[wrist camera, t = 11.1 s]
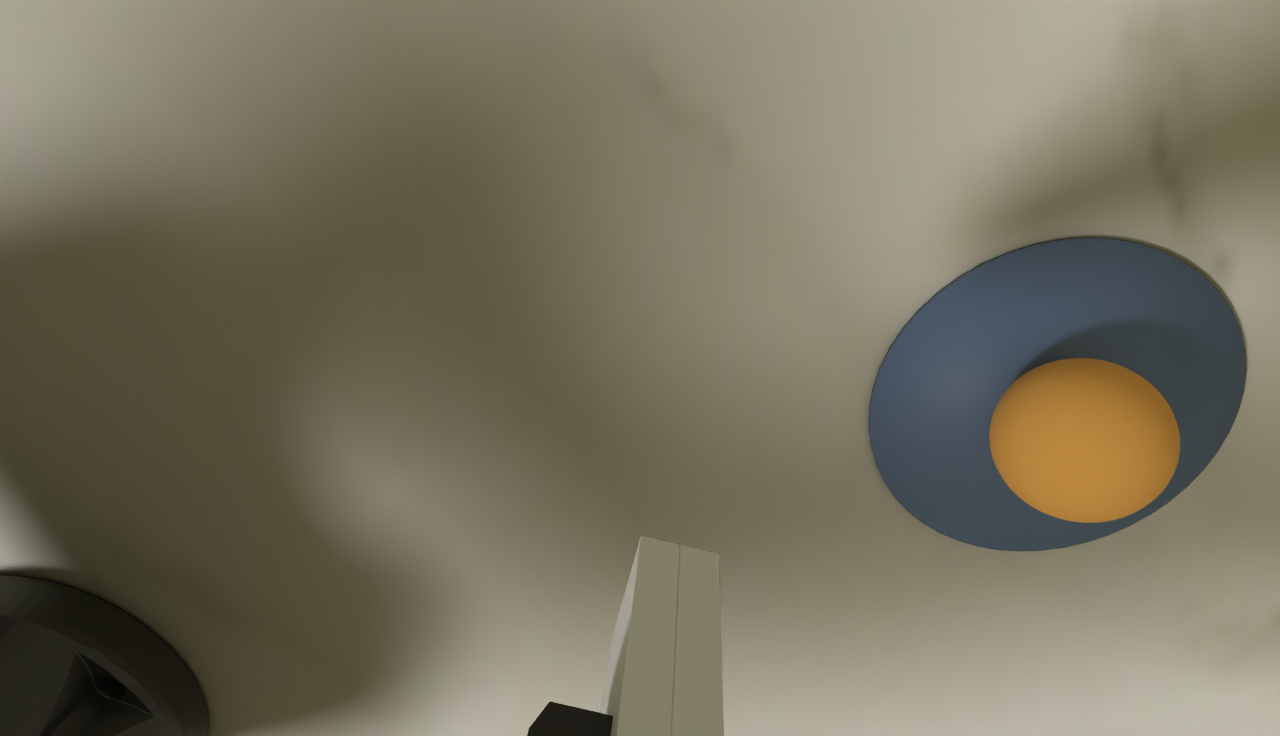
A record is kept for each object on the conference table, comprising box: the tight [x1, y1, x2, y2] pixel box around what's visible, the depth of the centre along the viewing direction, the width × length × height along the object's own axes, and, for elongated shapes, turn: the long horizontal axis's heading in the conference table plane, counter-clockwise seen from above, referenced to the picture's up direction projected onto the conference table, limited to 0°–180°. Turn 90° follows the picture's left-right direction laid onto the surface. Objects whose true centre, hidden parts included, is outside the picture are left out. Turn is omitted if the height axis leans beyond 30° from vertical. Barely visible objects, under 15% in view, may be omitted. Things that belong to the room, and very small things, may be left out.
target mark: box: [869, 237, 1246, 551], centre depth 27 cm, size 13×13×1 cm
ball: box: [989, 358, 1180, 523], centre depth 25 cm, size 6×6×6 cm
